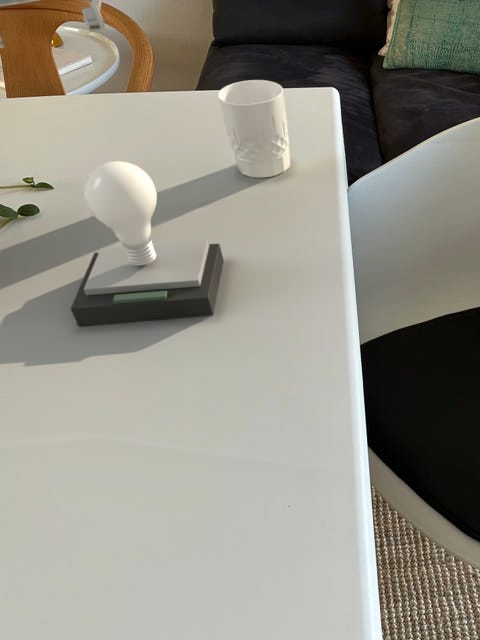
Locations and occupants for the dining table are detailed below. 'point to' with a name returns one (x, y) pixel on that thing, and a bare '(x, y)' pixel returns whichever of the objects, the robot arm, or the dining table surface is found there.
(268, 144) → the white cup
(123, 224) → the lightbulb
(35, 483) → the dining table surface
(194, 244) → the scale
